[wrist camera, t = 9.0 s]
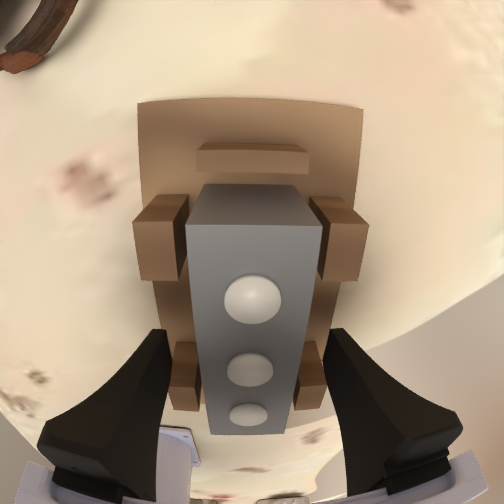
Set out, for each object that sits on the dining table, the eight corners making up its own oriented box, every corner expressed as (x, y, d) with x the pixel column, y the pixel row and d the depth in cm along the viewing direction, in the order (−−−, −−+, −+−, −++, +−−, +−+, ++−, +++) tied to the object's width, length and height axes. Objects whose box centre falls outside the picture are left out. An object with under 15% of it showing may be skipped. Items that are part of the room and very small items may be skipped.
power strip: (275, 369, 18) (284, 437, 14) (214, 369, 18) (210, 438, 13) (294, 185, 13) (325, 230, 8) (204, 183, 13) (183, 228, 8)
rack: (307, 391, 21) (317, 438, 17) (180, 391, 21) (173, 439, 17) (355, 109, 12) (401, 111, 8) (144, 103, 12) (104, 102, 8)
